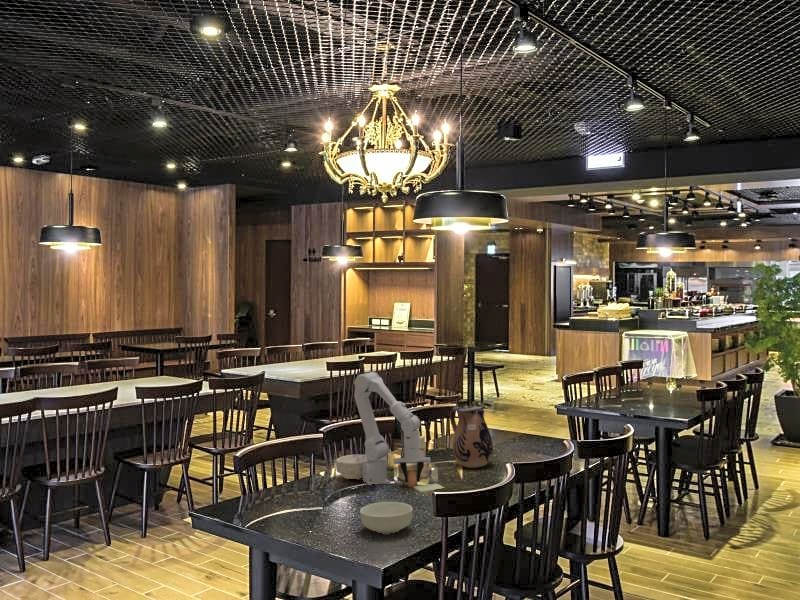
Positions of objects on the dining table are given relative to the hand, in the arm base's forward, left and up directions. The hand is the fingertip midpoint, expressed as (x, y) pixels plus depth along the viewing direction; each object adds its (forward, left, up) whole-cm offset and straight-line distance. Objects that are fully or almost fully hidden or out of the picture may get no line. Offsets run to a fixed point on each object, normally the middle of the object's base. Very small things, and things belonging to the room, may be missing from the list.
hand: (412, 481), depth 282 cm
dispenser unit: (+5, +10, -2) cm, 11 cm away
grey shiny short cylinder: (+9, 0, -2) cm, 9 cm away
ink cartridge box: (+16, +34, -2) cm, 38 cm away
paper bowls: (-16, +23, -2) cm, 28 cm away
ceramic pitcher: (+35, +18, -2) cm, 39 cm away
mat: (+4, -7, -2) cm, 8 cm away
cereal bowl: (-28, -44, -2) cm, 52 cm away
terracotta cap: (0, 0, -2) cm, 2 cm away
